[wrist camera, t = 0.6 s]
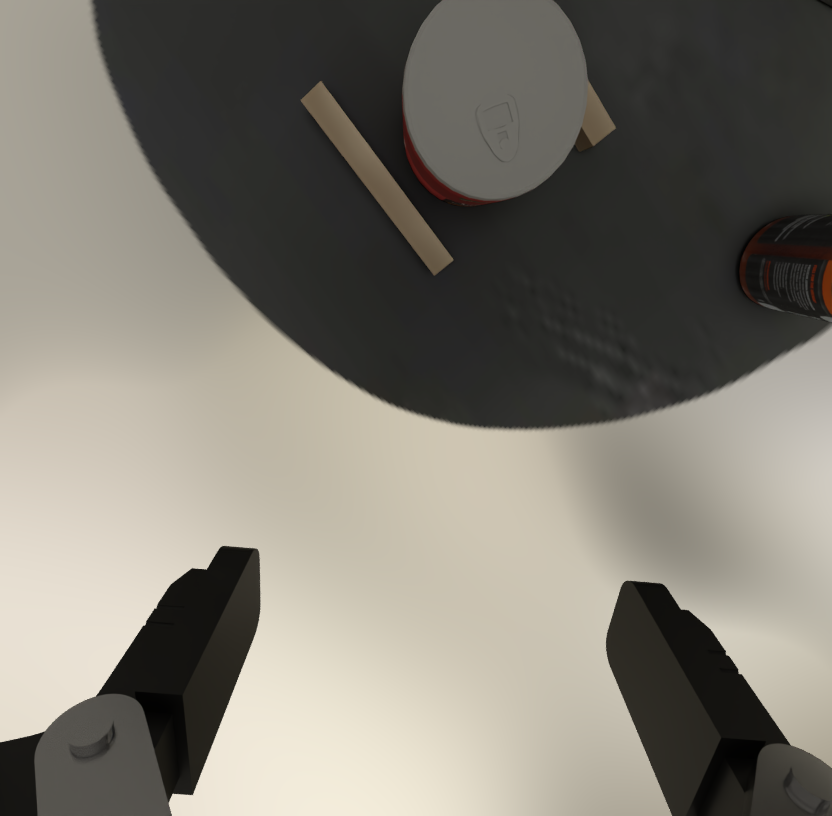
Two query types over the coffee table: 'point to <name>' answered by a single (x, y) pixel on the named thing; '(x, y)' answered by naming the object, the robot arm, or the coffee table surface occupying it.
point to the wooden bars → (389, 191)
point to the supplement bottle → (791, 266)
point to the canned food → (492, 98)
